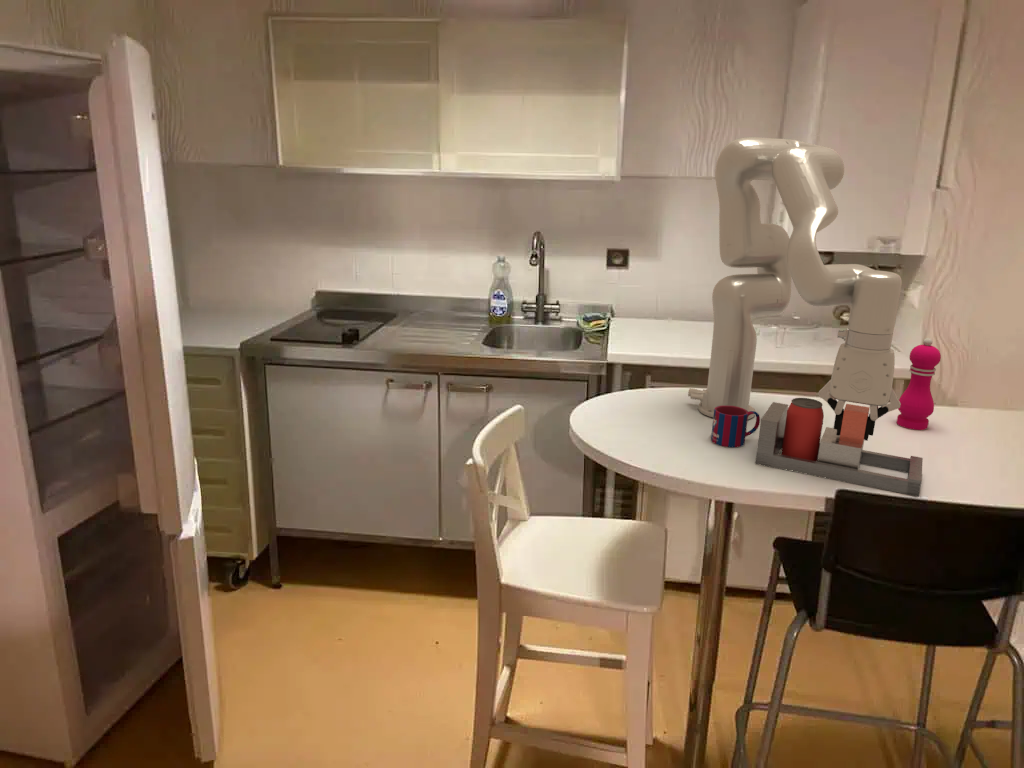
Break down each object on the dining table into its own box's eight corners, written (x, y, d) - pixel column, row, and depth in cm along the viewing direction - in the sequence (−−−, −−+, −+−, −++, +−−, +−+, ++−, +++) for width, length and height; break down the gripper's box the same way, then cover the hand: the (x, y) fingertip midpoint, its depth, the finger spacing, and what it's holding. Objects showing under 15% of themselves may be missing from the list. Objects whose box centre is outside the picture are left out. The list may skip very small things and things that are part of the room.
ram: (815, 471, 143) (825, 410, 140) (821, 455, 151) (830, 397, 148) (856, 479, 140) (867, 417, 137) (860, 462, 148) (870, 403, 144)
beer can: (799, 469, 145) (808, 409, 141) (773, 457, 150) (781, 399, 147) (823, 464, 148) (833, 404, 144) (797, 452, 153) (805, 395, 150)
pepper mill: (893, 427, 170) (909, 339, 164) (894, 417, 176) (910, 332, 170) (930, 433, 166) (947, 343, 161) (930, 423, 173) (947, 337, 167)
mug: (706, 436, 161) (709, 405, 159) (751, 435, 162) (755, 404, 160) (718, 448, 154) (722, 416, 152) (765, 447, 156) (769, 415, 154)
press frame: (755, 463, 147) (760, 419, 144) (767, 443, 157) (772, 402, 155) (918, 496, 134) (928, 448, 132) (919, 472, 145) (928, 427, 142)
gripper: (816, 338, 138) (802, 433, 144) (920, 351, 131) (901, 451, 136) (821, 330, 145) (808, 422, 150) (920, 342, 137) (902, 438, 143)
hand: (852, 434), depth 143 cm, fingers closed on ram, 4 cm apart
